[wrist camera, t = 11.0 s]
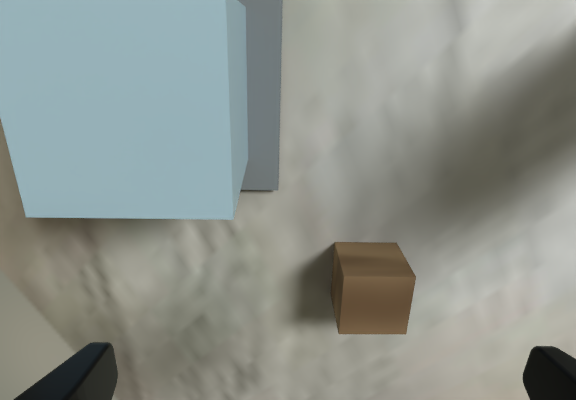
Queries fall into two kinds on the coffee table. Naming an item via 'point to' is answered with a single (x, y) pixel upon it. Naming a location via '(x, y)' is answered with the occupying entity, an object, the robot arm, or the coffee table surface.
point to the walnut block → (371, 288)
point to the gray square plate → (263, 92)
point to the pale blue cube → (125, 106)
